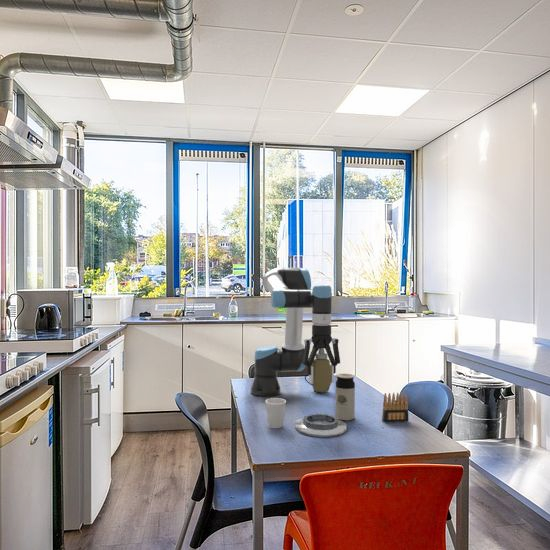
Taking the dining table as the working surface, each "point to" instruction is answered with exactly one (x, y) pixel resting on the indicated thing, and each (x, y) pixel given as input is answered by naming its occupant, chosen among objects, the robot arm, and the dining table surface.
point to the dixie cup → (275, 412)
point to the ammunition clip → (395, 409)
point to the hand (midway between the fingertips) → (321, 382)
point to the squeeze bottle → (321, 372)
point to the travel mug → (345, 397)
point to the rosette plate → (320, 432)
